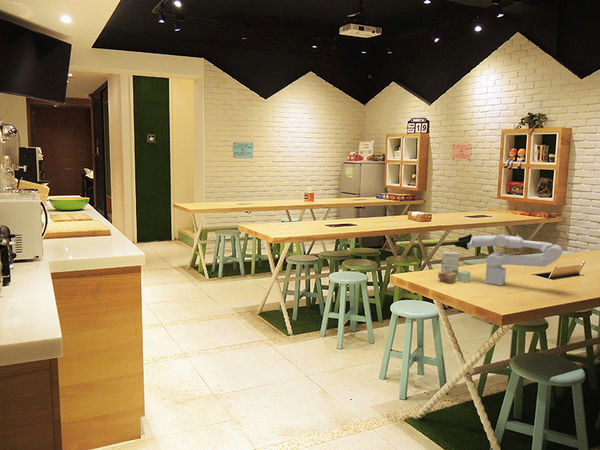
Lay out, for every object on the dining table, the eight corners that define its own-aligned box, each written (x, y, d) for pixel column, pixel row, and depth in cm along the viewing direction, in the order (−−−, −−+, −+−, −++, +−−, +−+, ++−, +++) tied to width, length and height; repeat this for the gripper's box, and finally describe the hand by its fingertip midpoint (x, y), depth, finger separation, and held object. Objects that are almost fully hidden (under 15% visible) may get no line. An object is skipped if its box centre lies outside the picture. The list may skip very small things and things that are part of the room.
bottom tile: (455, 281, 268) (455, 277, 268) (453, 284, 262) (453, 280, 261) (441, 280, 271) (442, 275, 271) (439, 282, 265) (439, 278, 264)
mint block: (469, 281, 269) (470, 271, 268) (466, 282, 265) (467, 273, 264) (460, 279, 272) (460, 270, 271) (457, 281, 268) (457, 271, 267)
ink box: (442, 273, 283) (443, 253, 281) (440, 271, 288) (442, 251, 286) (458, 274, 282) (459, 253, 280) (456, 272, 287) (457, 252, 286)
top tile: (456, 278, 266) (457, 273, 266) (450, 280, 261) (450, 275, 261) (444, 275, 271) (444, 271, 270) (438, 277, 266) (438, 273, 265)
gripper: (484, 229, 272) (459, 231, 279) (478, 237, 260) (452, 238, 267) (486, 242, 273) (461, 243, 281) (480, 250, 261) (454, 251, 269)
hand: (456, 242), depth 274 cm, fingers open, 7 cm apart
